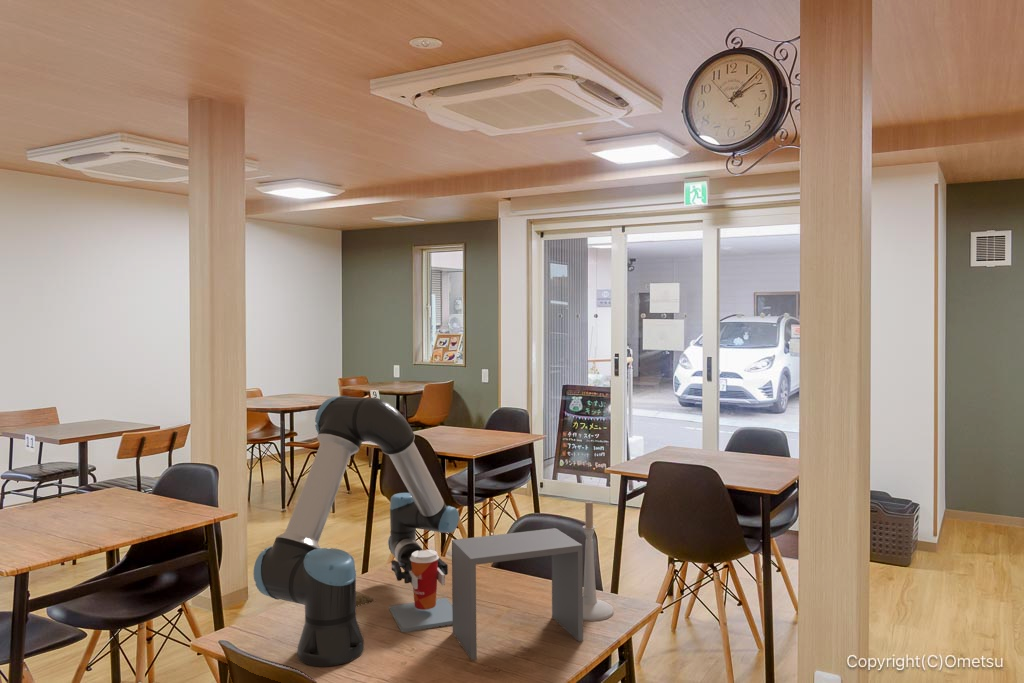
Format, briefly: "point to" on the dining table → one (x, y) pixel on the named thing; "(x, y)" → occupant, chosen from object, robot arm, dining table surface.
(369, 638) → the dining table surface
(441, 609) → the mat
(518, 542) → the shelf riser
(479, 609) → the dining table surface
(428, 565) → the paper cup
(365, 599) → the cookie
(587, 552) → the candlestick
